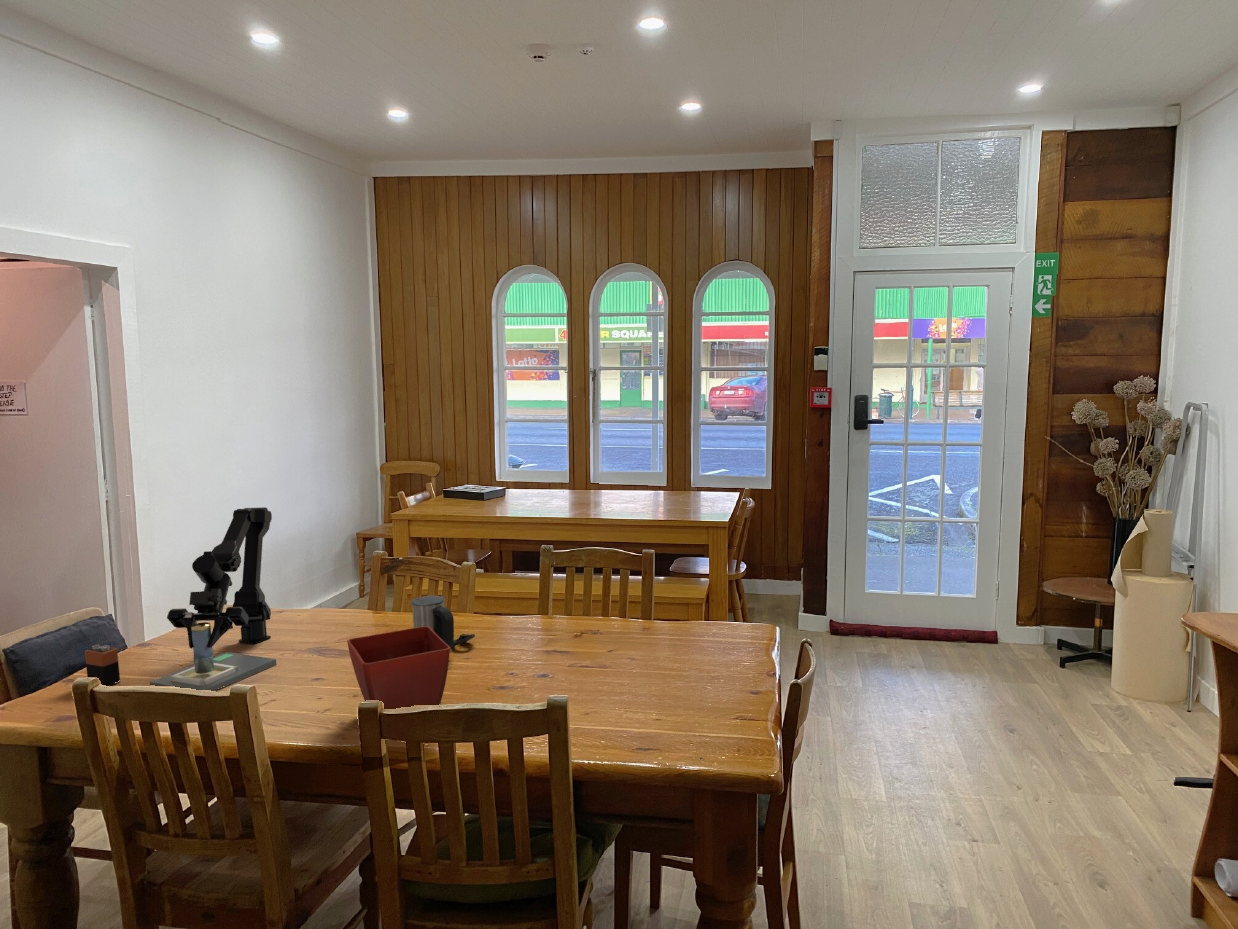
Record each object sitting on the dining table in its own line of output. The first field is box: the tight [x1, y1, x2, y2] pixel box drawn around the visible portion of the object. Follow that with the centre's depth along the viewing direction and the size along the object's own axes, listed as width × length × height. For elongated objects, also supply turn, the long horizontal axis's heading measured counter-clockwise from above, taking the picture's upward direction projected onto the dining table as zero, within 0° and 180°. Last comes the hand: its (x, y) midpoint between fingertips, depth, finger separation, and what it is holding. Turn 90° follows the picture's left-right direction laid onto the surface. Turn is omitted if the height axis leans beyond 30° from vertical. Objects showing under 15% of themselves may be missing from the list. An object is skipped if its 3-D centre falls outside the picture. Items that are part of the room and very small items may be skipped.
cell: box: [191, 621, 214, 674], centre depth 221 cm, size 4×4×12 cm
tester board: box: [149, 651, 277, 692], centre depth 226 cm, size 24×18×3 cm
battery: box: [84, 644, 121, 687], centre depth 222 cm, size 4×7×10 cm, turn 67°
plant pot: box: [346, 626, 451, 709], centre depth 197 cm, size 19×19×17 cm
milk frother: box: [410, 595, 476, 649], centre depth 242 cm, size 14×16×15 cm
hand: (200, 647), depth 220 cm, fingers closed on cell, 4 cm apart
